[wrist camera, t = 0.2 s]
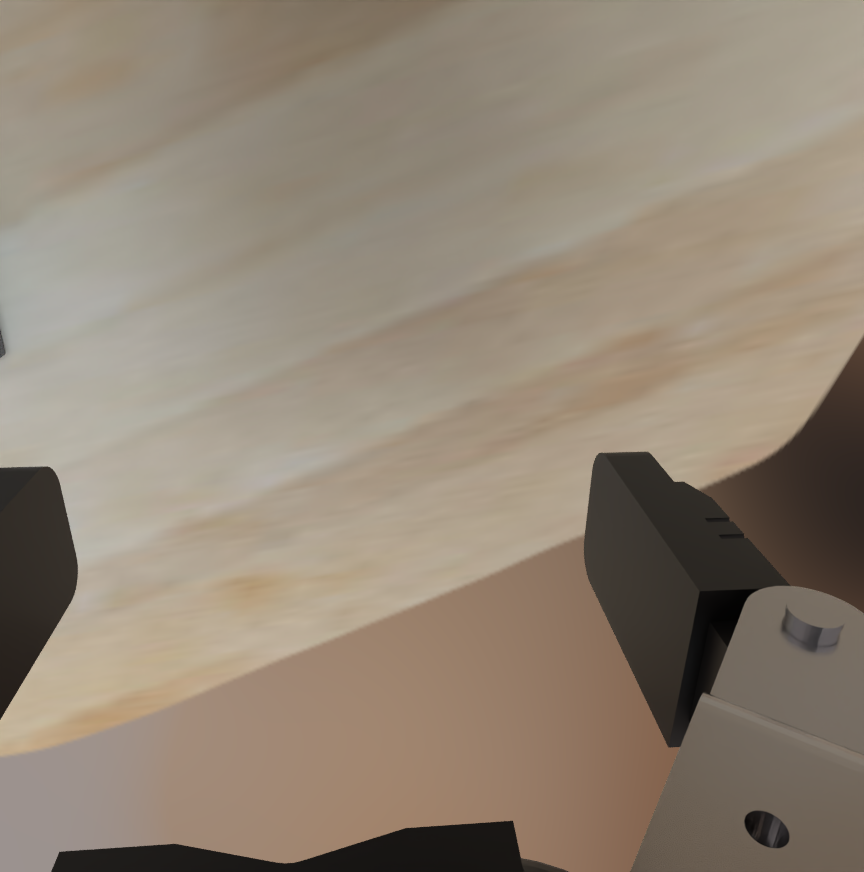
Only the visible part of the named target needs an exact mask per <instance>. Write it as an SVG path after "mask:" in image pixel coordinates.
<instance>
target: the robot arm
mask: <svg viewBox="0 0 864 872" xmlns="http://www.w3.org/2000/svg"><path fill="white" fill-rule="evenodd" d="M584 559H585V565H586V571H587V575H588V579H589V581H590V584H591V585H592V588H593V590H594V592H595V594H596V596H597V598H598V600H599V602H600V605H601V607H602V609H603V611H604V613H605V615H606V617H607V619H608V621H609V623H610V625H611V628H612V630H613V632H614V634H615V636H616V638H617V640H618V642H619V644H620V646H621V649H622V651H623V653H624V655H625V657H626V659H627V661H628V663H629V665H630V668H631V669H632V672H633V674H634V676H635V678H636V680H637V682H638V684H639V687H640V689H641V691H642V693H643V695H644V697H645V699H646V701H647V703H648V705H649V707H650V710H651V711H652V714H653V716H654V718H655V720H656V722H657V724H658V726H659V729H660V730H661V733H662V735H663V737H664V739H665V741H666V743H667V745H668V747H680V749H679V751H678V754H677V756H676V759H675V761H674V764H673V766H672V769H671V771H670V774H669V776H668V779H667V781H666V784H665V787H664V789H663V791H662V794H661V796H660V799H659V802H658V804H657V807H656V809H655V811H654V814H653V816H652V819H651V821H650V824H649V826H648V829H647V831H646V834H645V836H644V839H643V842H642V844H641V846H640V849H639V851H638V854H637V856H636V859H635V861H634V864H633V867H632V869H631V871H630V872H864V614H863V613H862V612H861V611H859V610H858V609H856V608H855V607H853V606H852V605H850V604H848V603H846V602H844V601H842V600H840V599H838V598H835V597H833V596H831V595H828V594H825V593H822V592H818V591H815V590H811V589H807V588H801V587H794V586H790V585H789V584H788V583H787V581H786V580H785V579H784V578H783V577H782V576H781V575H780V574H779V572H778V571H777V570H776V569H775V568H774V567H773V566H772V565H771V564H770V562H769V561H768V560H767V559H766V558H765V557H764V556H763V555H762V553H761V552H760V551H759V550H758V549H757V548H756V547H755V546H754V545H753V544H752V542H751V541H750V540H749V539H748V538H744V533H743V532H742V531H741V530H740V529H739V528H738V527H737V526H736V524H735V523H734V522H730V521H729V517H728V516H727V514H726V513H725V512H724V511H723V510H722V509H721V508H720V507H719V506H718V504H717V503H716V502H715V501H714V500H713V499H712V498H711V497H709V496H707V495H706V494H704V493H702V492H701V491H699V490H697V489H695V488H694V487H692V486H690V485H688V484H687V483H685V482H674V481H673V480H672V479H671V478H670V476H669V475H668V474H667V473H666V472H665V470H664V469H663V468H662V467H661V466H660V464H659V463H658V462H657V461H656V460H655V458H654V457H653V456H652V455H651V454H650V453H649V452H619V453H599V454H598V455H597V456H596V458H595V461H594V464H593V470H592V478H591V487H590V495H589V504H588V513H587V521H586V530H585V539H584ZM77 576H78V565H77V557H76V553H75V548H74V544H73V539H72V535H71V531H70V526H69V522H68V517H67V513H66V509H65V504H64V500H63V495H62V491H61V487H60V483H59V480H58V477H57V475H56V473H55V472H54V471H53V469H51V468H50V467H12V468H0V719H1V718H2V716H3V714H4V713H5V711H6V709H7V708H8V706H9V704H10V703H11V701H12V699H13V698H14V696H15V694H16V693H17V691H18V689H19V688H20V686H21V684H22V683H23V681H24V679H25V678H26V676H27V674H28V673H29V671H30V669H31V668H32V666H33V664H34V663H35V661H36V659H37V658H38V656H39V654H40V653H41V651H42V649H43V648H44V646H45V644H46V643H47V641H48V639H49V638H50V636H51V634H52V633H53V631H54V629H55V628H56V626H57V624H58V623H59V621H60V619H61V618H62V616H63V614H64V613H65V611H66V609H67V608H68V606H69V604H70V603H71V601H72V599H73V596H74V593H75V590H76V585H77ZM52 872H568V871H566V870H563V869H560V868H557V867H554V866H551V865H547V864H544V863H541V862H537V861H532V860H527V859H522V858H521V857H520V852H519V848H518V843H517V838H516V833H515V828H514V823H513V821H504V822H491V823H476V824H461V825H447V826H431V827H417V828H405V829H402V830H399V831H395V832H392V833H389V834H386V835H383V836H380V837H377V838H373V839H370V840H367V841H364V842H361V843H357V844H354V845H351V846H348V847H345V848H341V849H338V850H336V851H332V852H329V853H326V854H323V855H320V856H316V857H313V858H310V859H307V860H303V861H300V862H296V863H287V864H284V863H275V862H269V861H264V860H259V859H253V858H248V857H243V856H237V855H232V854H227V853H221V852H216V851H210V850H204V849H200V848H194V847H189V846H183V845H178V844H168V845H153V846H139V847H123V848H110V849H95V850H79V851H66V852H59V854H58V857H57V859H56V862H55V864H54V867H53V869H52Z"/></svg>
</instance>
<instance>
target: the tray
mask: <svg viewBox="0 0 864 872" xmlns="http://www.w3.org/2000/svg"><path fill="white" fill-rule="evenodd" d="M4 354H5V351H4V347H3V342H2V338H1V333H0V358H1V357H2V356H3V355H4Z"/></svg>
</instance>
